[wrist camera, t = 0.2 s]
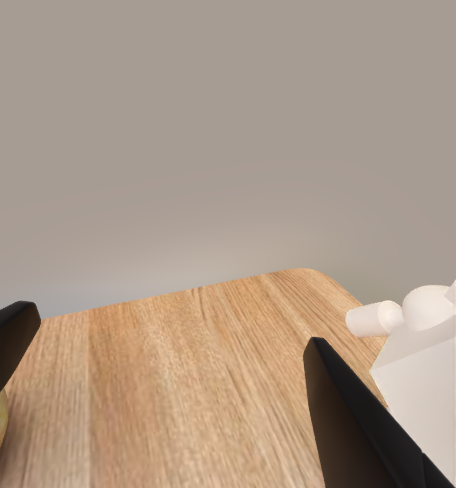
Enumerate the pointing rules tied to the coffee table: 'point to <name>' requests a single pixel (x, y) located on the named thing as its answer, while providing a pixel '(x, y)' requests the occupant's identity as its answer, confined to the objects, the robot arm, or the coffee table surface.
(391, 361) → the robot toy
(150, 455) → the coffee table surface
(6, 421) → the fruit
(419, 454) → the robot arm
